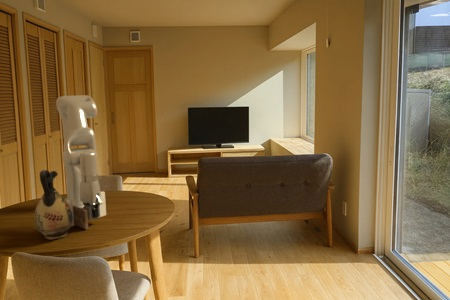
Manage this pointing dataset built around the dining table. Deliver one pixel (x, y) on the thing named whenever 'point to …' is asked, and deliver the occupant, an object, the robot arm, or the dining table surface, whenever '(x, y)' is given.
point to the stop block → (90, 211)
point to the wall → (102, 206)
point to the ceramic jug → (52, 209)
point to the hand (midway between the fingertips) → (92, 216)
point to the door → (80, 217)
